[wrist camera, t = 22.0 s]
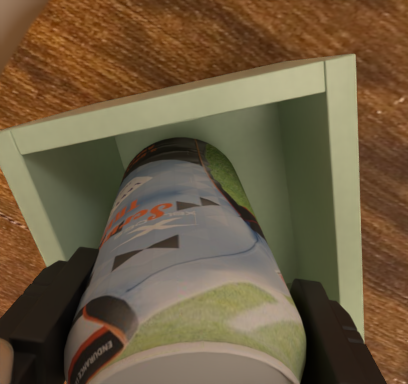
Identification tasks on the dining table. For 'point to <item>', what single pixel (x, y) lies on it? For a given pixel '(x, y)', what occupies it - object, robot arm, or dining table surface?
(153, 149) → the beverage can
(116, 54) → the dining table surface
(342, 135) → the case
